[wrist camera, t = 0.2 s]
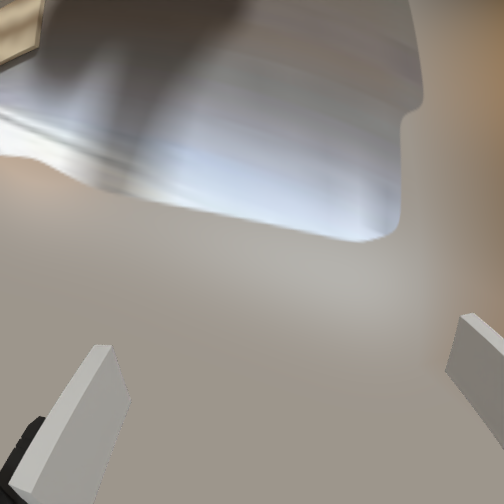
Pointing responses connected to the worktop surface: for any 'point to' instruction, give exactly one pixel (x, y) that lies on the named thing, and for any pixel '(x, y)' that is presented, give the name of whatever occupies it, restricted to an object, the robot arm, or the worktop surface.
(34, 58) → the worktop surface
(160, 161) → the worktop surface
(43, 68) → the worktop surface
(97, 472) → the robot arm
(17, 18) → the beige square napkin
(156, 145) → the worktop surface
